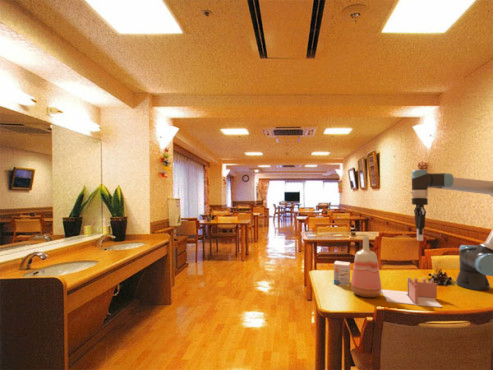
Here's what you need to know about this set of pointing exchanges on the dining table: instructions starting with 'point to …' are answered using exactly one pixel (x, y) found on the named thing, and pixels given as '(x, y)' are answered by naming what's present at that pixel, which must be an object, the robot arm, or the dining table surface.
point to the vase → (366, 272)
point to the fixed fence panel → (425, 288)
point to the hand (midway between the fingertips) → (420, 240)
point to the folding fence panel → (413, 291)
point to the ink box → (342, 273)
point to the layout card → (408, 298)
